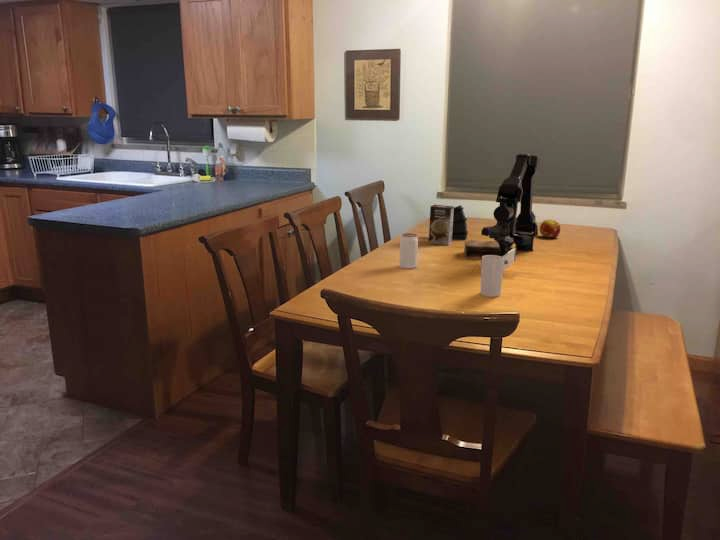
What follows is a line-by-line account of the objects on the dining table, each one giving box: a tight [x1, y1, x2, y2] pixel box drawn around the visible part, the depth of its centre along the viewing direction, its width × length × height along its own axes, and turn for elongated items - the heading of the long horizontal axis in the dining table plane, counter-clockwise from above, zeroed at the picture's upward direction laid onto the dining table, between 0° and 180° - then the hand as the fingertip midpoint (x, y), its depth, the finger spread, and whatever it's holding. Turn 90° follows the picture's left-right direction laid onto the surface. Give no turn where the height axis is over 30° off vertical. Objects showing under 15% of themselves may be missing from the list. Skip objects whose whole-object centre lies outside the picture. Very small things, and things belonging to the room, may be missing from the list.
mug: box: [479, 255, 504, 298], centre depth 190 cm, size 10×7×12 cm, turn 170°
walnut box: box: [464, 239, 514, 260], centre depth 241 cm, size 18×10×5 cm, turn 82°
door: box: [502, 247, 517, 271], centre depth 227 cm, size 17×2×5 cm, turn 152°
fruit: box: [539, 219, 561, 239], centre depth 277 cm, size 10×9×8 cm
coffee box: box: [428, 204, 455, 246], centre depth 261 cm, size 9×6×16 cm
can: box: [398, 232, 419, 270], centre depth 222 cm, size 6×6×12 cm
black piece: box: [452, 204, 469, 241], centre depth 272 cm, size 4×13×15 cm, turn 66°
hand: (503, 257), depth 228 cm, fingers closed
